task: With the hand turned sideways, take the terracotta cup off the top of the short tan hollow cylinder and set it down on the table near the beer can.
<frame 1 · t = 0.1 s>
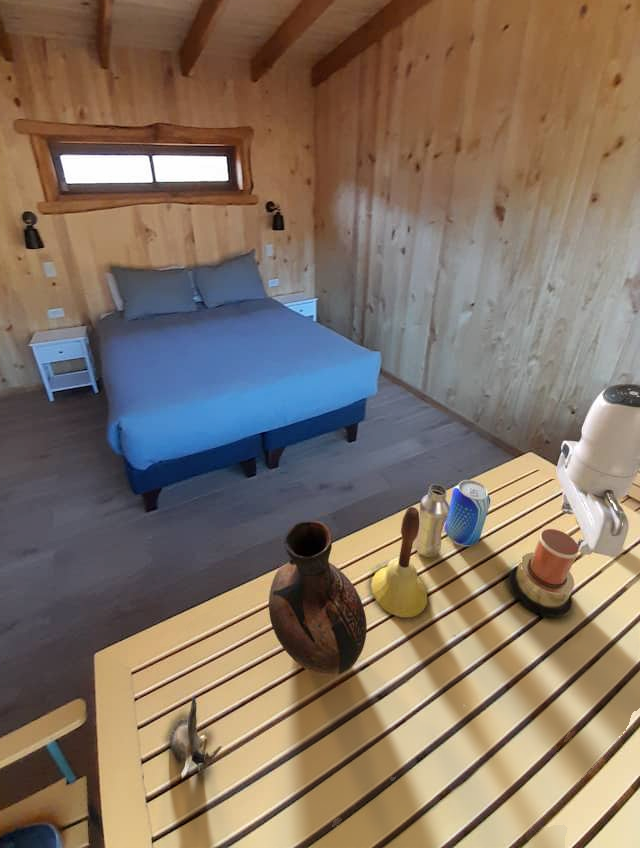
hand: (574, 529, 75), 25 cm above the table, tool pointing down, fingers open, 8 cm apart
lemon: (583, 529, 105), on the table
beer can: (460, 535, 104), on the table
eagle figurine: (194, 747, 67), on the table
ceramic vessel: (315, 641, 82), on the table
terracotta cup: (547, 570, 87), point 7 cm above the table, touching tan hollow cylinder
silver metal bottle: (425, 550, 101), on the table
tan hollow cylinder: (538, 592, 90), on the table
handbell: (398, 590, 91), on the table
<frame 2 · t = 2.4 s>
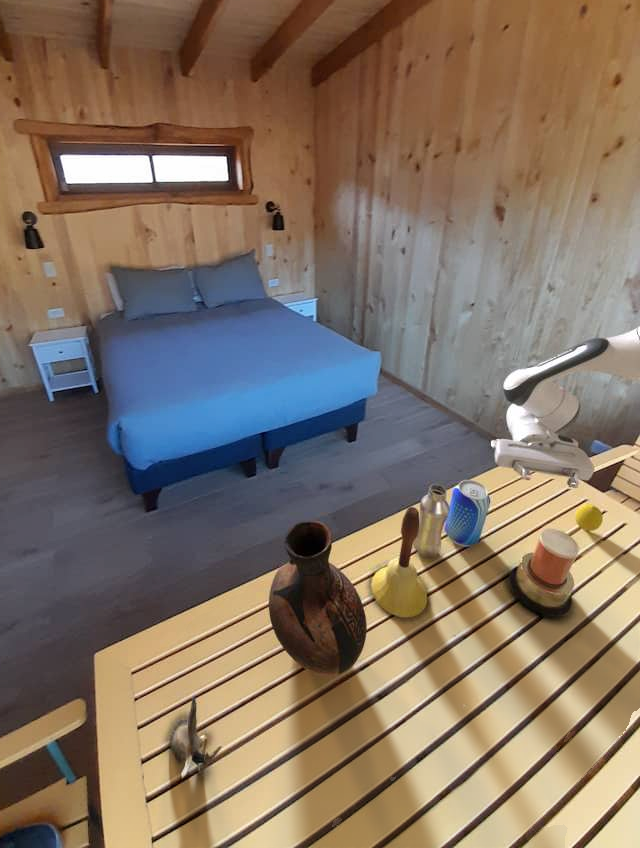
hand: (550, 481, 90), 22 cm above the table, tool horizontal, fingers open, 8 cm apart
nothing on the table moved.
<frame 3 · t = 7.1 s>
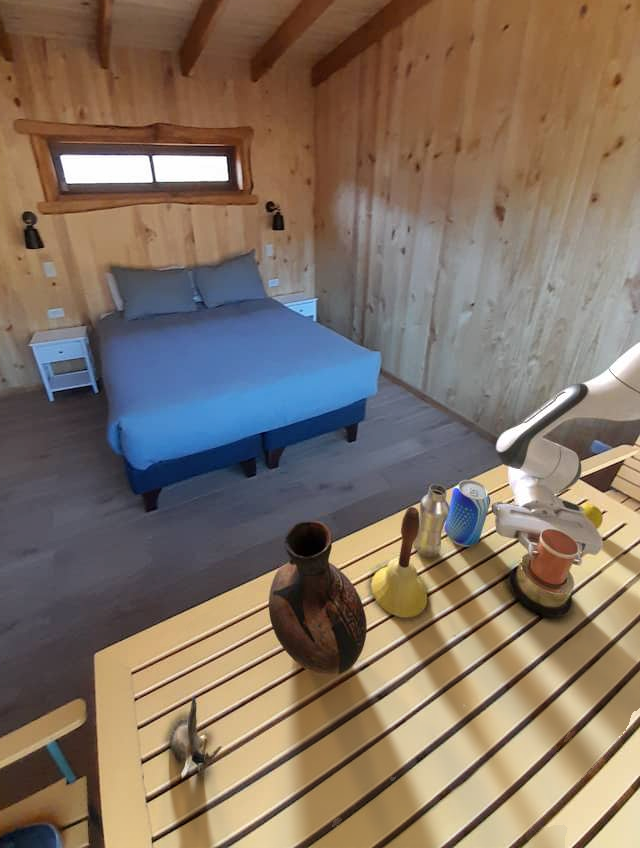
hand: (555, 558, 84), 13 cm above the table, tool horizontal, fingers closed on terracotta cup, 6 cm apart
terracotta cup: (547, 570, 87), point 8 cm above the table, touching gripper, tan hollow cylinder
everything else where it was.
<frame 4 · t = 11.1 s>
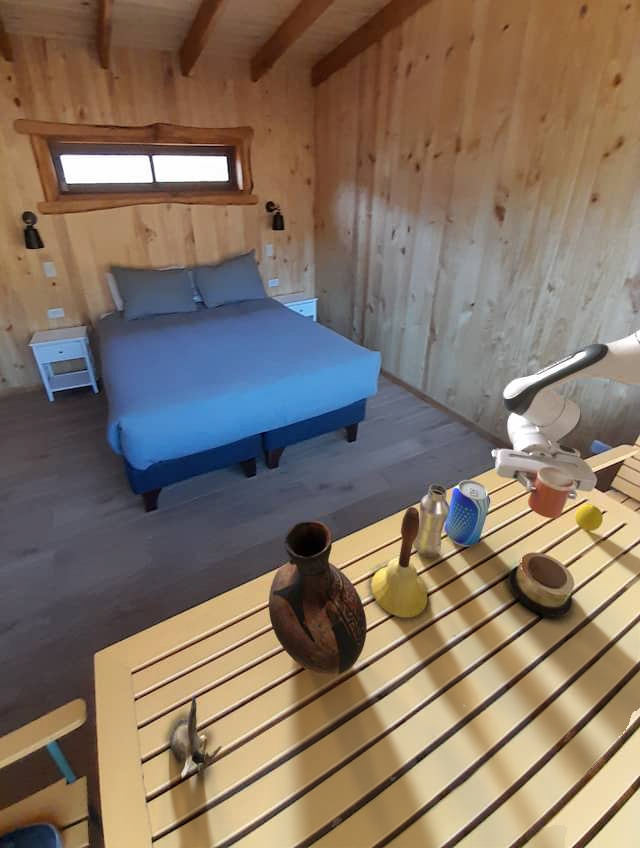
hand: (552, 493, 89), 21 cm above the table, tool horizontal, fingers closed on terracotta cup, 6 cm apart
terracotta cup: (544, 507, 92), point 16 cm above the table, touching gripper
everything else where it was.
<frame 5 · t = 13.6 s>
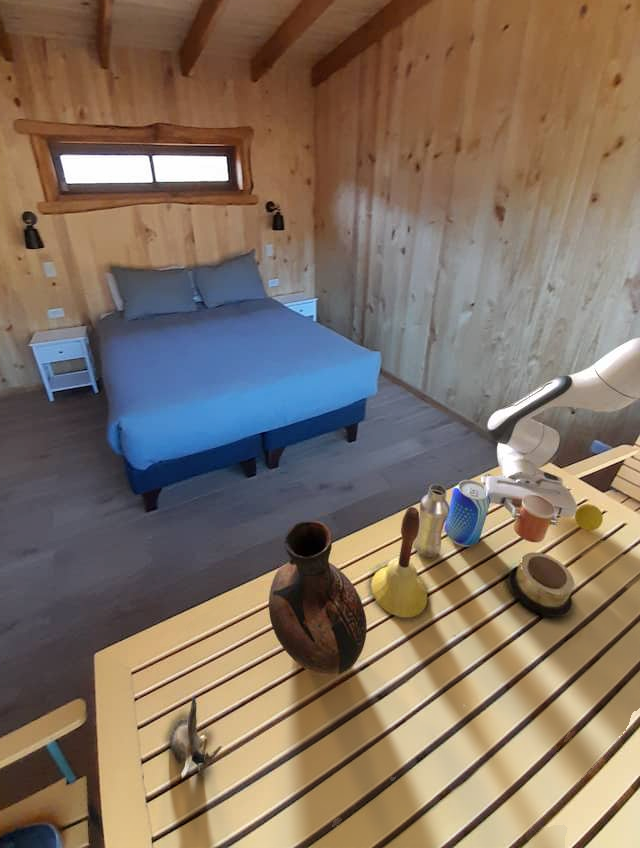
hand: (535, 519, 96), 10 cm above the table, tool horizontal, fingers closed on terracotta cup, 6 cm apart
terracotta cup: (528, 531, 99), point 5 cm above the table, touching gripper
everything else where it was.
when the fingers open (5 cm above the table, at t = 15.4 s): terracotta cup stays where it is, on the table.
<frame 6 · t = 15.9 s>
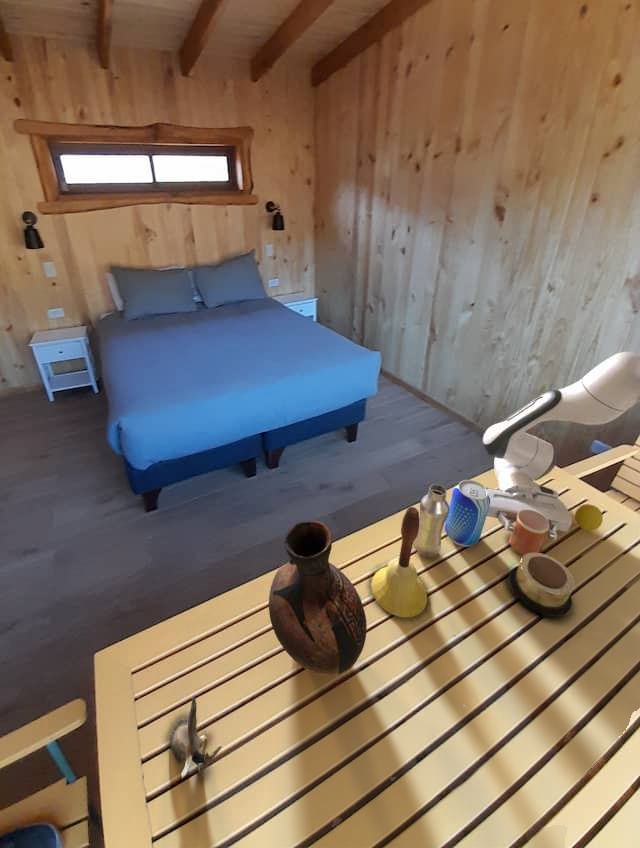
hand: (531, 533, 98), 5 cm above the table, tool horizontal, fingers open, 8 cm apart
terracotta cup: (523, 545, 101), on the table
everything else where it was.
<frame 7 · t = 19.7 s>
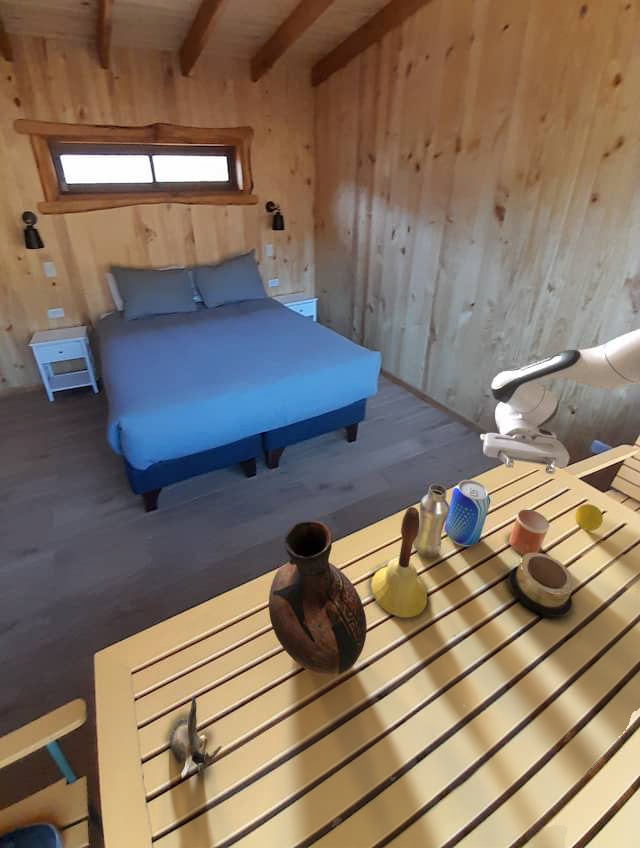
hand: (530, 468, 103), 16 cm above the table, tool horizontal, fingers open, 8 cm apart
nothing on the table moved.
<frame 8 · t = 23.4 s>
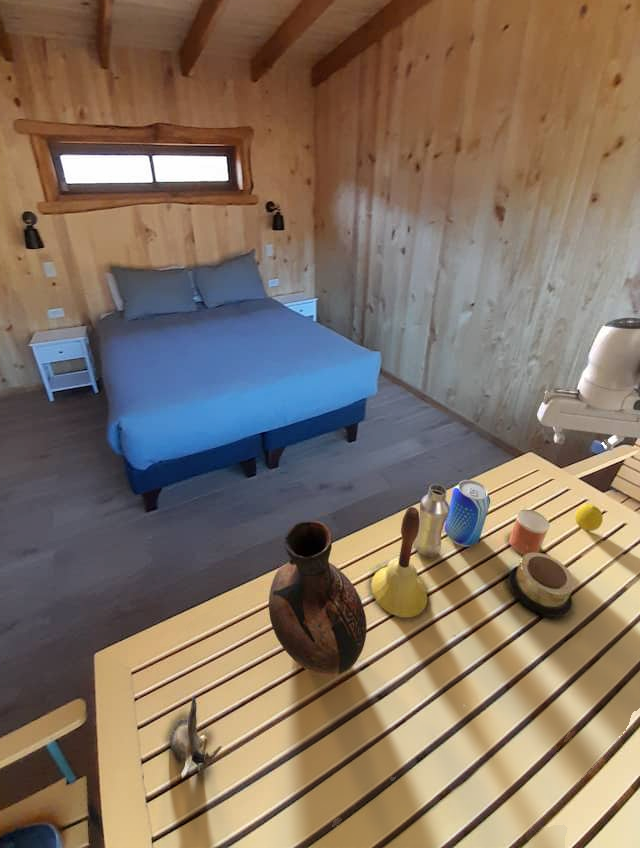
hand: (581, 445, 91), 29 cm above the table, tool pointing down, fingers open, 8 cm apart
nothing on the table moved.
at the end: terracotta cup 14.9 cm from the beer can (horizontally); terracotta cup on the table; terracotta cup tilted 0° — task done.
